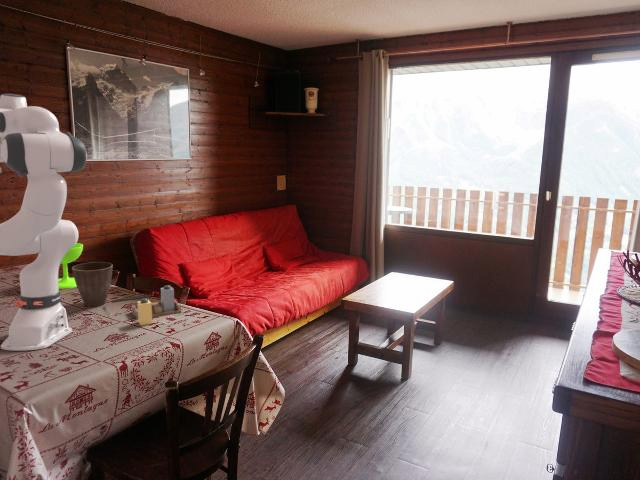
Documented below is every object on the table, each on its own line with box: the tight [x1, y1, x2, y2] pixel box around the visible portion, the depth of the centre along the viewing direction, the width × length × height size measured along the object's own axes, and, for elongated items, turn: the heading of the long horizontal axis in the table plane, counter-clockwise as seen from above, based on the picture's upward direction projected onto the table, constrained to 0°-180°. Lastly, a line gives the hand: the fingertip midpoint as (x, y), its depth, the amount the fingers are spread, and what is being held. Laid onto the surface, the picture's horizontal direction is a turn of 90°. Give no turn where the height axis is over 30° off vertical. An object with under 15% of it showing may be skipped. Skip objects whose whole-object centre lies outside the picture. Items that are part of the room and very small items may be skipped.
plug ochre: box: [136, 298, 153, 326], centre depth 170 cm, size 4×4×10 cm
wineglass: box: [58, 242, 84, 290], centre depth 217 cm, size 16×16×18 cm
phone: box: [111, 294, 151, 304], centre depth 197 cm, size 8×1×15 cm
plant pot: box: [71, 261, 114, 308], centre depth 192 cm, size 15×15×16 cm
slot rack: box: [131, 298, 182, 321], centre depth 182 cm, size 9×16×4 cm, turn 123°
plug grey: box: [160, 284, 175, 312], centre depth 183 cm, size 4×4×10 cm
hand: (13, 172), depth 180 cm, fingers open, 8 cm apart
